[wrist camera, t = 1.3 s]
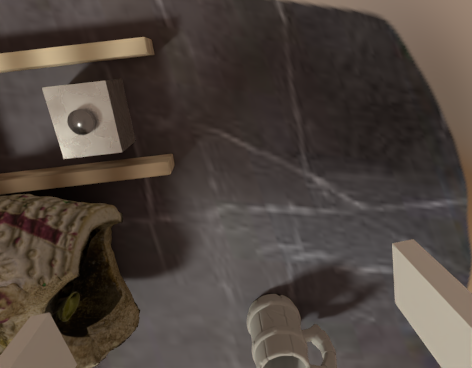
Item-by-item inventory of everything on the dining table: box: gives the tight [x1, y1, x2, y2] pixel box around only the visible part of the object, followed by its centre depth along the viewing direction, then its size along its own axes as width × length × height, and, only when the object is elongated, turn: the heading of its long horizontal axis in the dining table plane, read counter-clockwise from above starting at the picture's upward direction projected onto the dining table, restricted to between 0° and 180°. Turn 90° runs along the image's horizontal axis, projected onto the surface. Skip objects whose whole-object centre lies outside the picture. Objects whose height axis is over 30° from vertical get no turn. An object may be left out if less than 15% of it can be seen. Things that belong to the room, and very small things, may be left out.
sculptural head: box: [0, 194, 140, 368], centre depth 35 cm, size 17×21×25 cm
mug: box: [247, 294, 337, 368], centre depth 42 cm, size 8×12×12 cm, turn 76°
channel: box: [0, 37, 175, 194], centre depth 34 cm, size 25×14×6 cm, turn 96°
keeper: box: [42, 79, 136, 159], centre depth 34 cm, size 6×7×6 cm
